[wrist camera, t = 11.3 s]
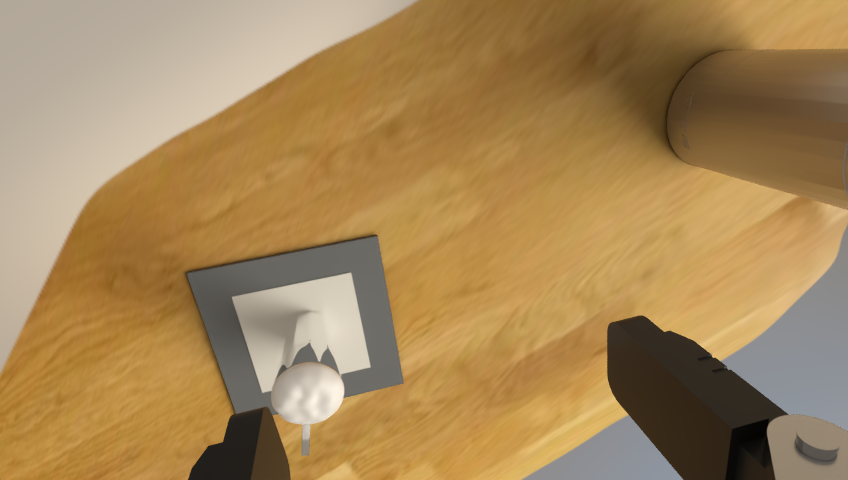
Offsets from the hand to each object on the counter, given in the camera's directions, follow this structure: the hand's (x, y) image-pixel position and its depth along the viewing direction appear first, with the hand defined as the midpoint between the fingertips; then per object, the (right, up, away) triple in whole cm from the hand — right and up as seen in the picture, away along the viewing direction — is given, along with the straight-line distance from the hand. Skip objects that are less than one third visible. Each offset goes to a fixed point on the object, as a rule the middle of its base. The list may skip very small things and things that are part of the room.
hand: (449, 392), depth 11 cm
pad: (-10, -4, +27) cm, 29 cm away
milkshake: (-10, -4, +27) cm, 29 cm away
